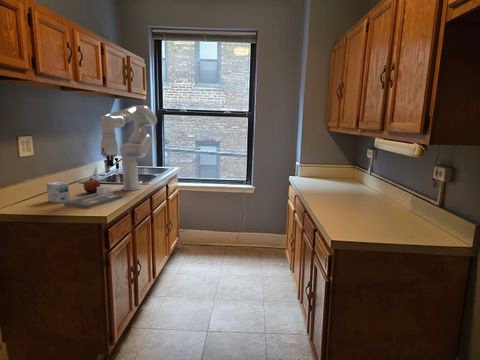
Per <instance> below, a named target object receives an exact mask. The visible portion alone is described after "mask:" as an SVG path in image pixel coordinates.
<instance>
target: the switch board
mask: <svg viewBox="0 0 480 360" xmlns="http://www.w3.org/2000/svg"><path fill="white" fill-rule="evenodd" d="M120 199H123V195H122V194H118V193H114V192H113V191H112V192H109V193H107V194H104V195H100V196H97V192H95V193H90V194H87V195H84V196H83V195H82V196H80V197H76V198H72V199H70V200H68V201H65V202H63V206H67V207H75V208H79V209H80V208H83V209H90V208H95V207H98V206H101V205H104V204H107V203H110V202H114V201H117V200H120Z"/></svg>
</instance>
